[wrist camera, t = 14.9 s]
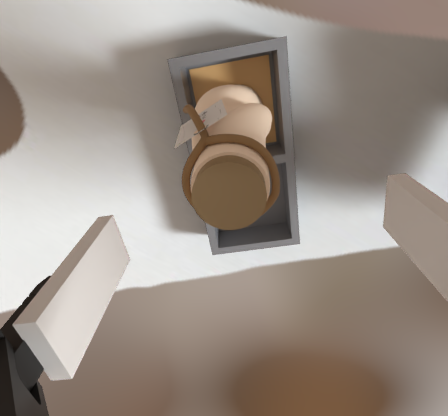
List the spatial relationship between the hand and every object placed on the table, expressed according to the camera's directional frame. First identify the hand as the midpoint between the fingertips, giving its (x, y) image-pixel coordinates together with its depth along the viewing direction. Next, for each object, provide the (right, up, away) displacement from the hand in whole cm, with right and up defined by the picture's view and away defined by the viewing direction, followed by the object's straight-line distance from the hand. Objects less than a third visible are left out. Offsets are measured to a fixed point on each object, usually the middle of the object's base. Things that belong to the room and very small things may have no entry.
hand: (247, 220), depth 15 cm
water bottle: (0, +15, +29) cm, 33 cm away
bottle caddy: (+2, +9, +33) cm, 35 cm away
